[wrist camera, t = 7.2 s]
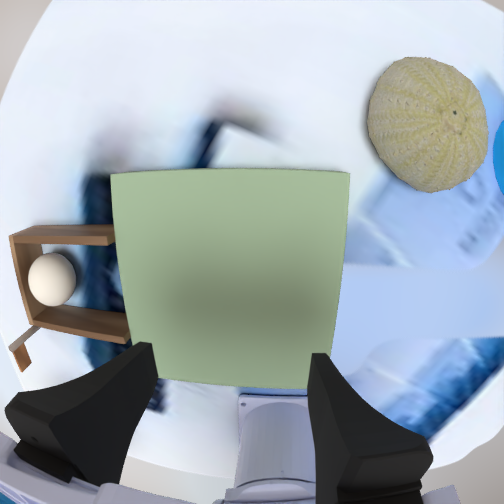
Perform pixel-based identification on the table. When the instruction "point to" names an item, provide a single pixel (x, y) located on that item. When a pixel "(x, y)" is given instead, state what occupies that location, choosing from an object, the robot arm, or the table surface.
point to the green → (232, 269)
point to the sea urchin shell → (428, 124)
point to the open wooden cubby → (61, 316)
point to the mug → (499, 156)
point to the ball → (52, 279)
